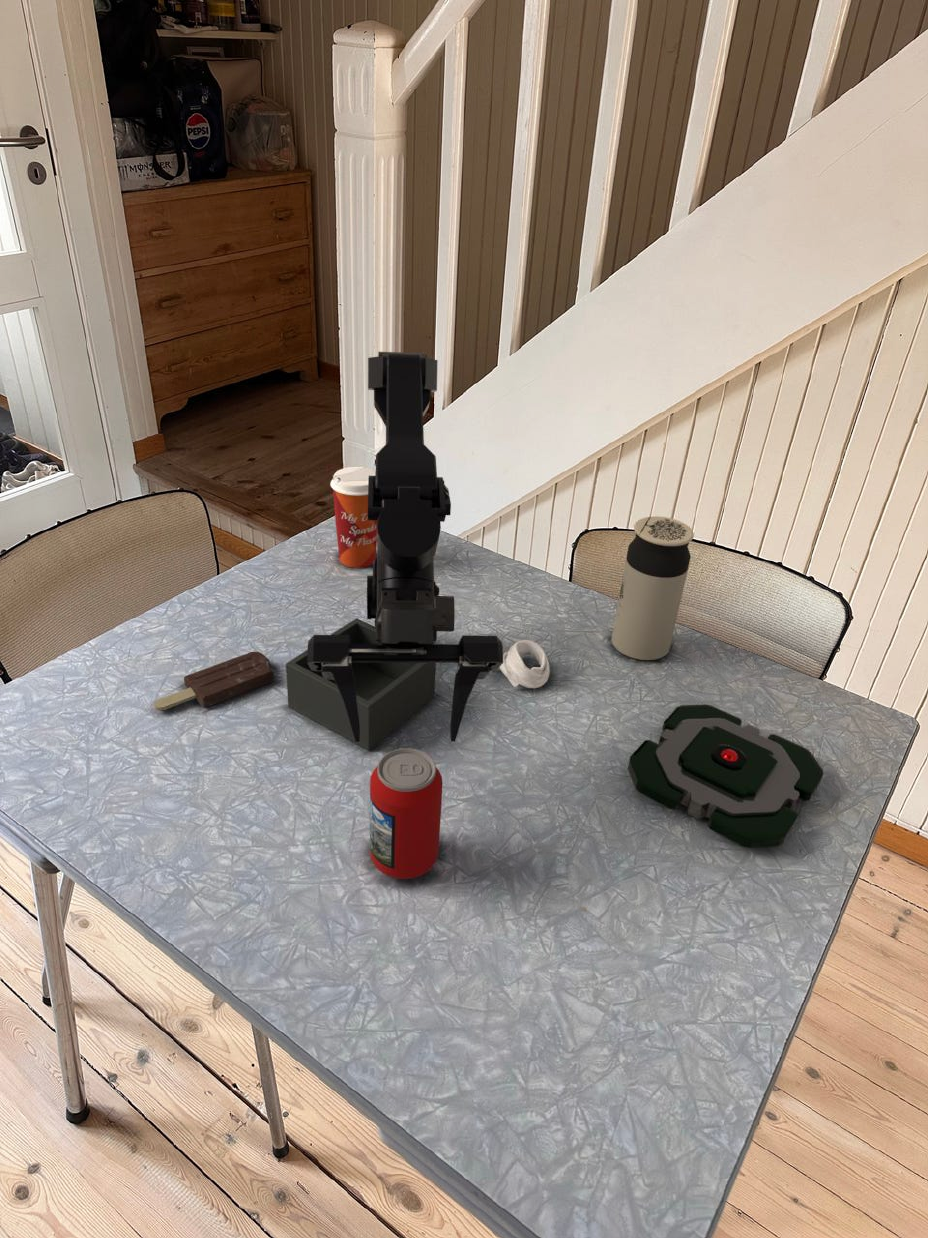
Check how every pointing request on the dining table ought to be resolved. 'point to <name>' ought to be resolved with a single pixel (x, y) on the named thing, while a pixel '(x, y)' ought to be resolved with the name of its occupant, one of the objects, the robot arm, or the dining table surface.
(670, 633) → the travel mug
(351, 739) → the trash bin
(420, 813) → the beverage can
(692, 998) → the dining table surface
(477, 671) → the robot arm
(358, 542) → the paper cup
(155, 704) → the ice cream bar
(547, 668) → the white bandage roll
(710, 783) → the clover-shaped pad
